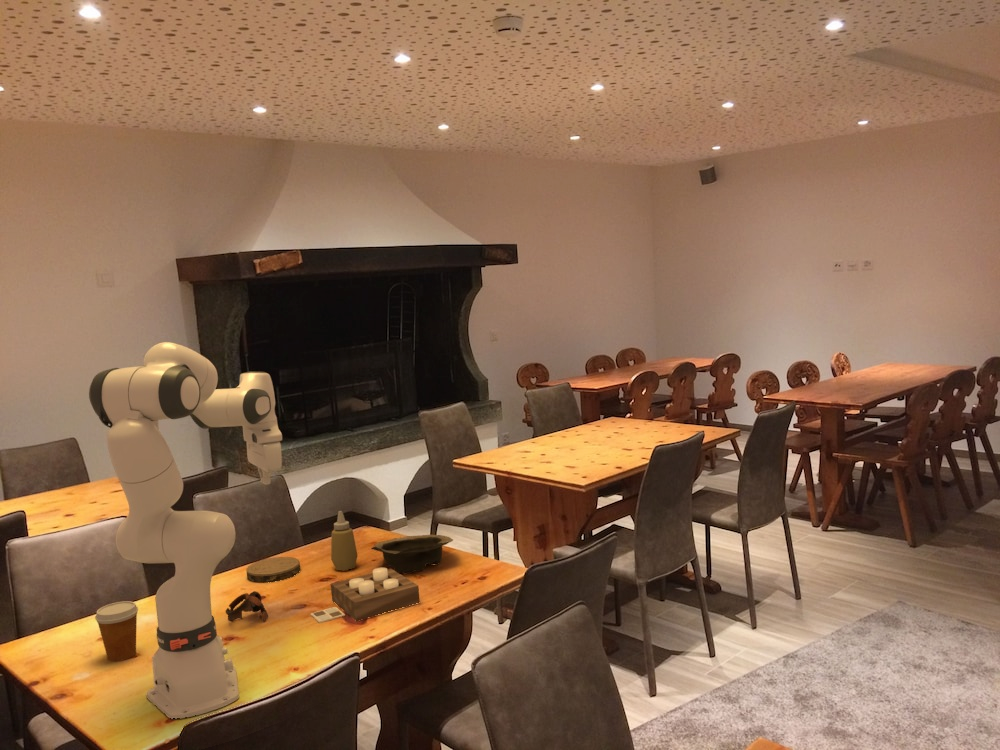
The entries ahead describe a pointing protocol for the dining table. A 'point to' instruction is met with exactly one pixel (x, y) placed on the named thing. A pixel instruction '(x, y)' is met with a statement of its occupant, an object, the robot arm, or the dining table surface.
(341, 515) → the squeeze bottle
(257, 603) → the pottery mug
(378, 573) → the beige egg
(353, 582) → the egg
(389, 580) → the button front outer
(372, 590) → the button front inner
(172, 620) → the robot arm
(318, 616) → the tile
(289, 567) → the brown wooden disc
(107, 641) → the disposable coffee cup
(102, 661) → the dining table surface
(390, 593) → the button board
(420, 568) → the stone bowl
